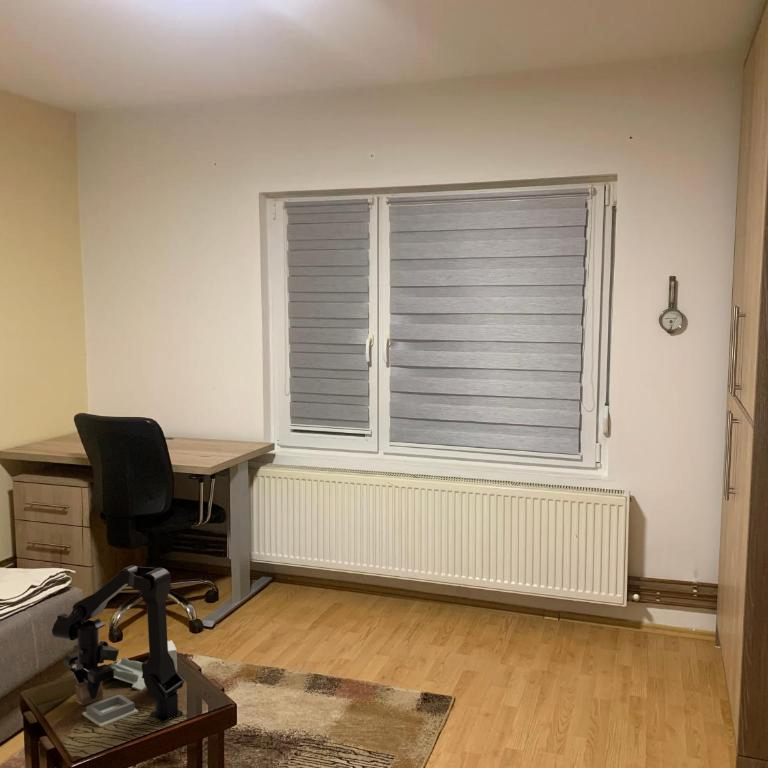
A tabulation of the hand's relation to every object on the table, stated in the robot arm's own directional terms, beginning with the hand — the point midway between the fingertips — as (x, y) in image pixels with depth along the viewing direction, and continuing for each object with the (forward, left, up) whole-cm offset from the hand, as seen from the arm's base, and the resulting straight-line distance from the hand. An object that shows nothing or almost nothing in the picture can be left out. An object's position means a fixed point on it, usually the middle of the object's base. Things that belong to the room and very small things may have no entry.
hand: (89, 695), depth 222 cm
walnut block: (0, 0, -1) cm, 1 cm away
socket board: (-12, 0, -1) cm, 12 cm away
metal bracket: (+4, -15, -2) cm, 16 cm away
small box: (-10, -18, -2) cm, 21 cm away
